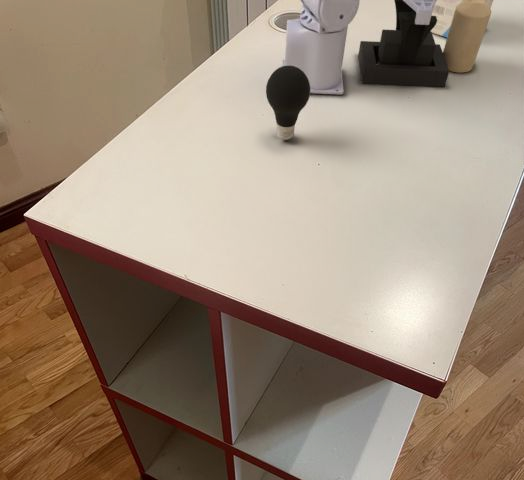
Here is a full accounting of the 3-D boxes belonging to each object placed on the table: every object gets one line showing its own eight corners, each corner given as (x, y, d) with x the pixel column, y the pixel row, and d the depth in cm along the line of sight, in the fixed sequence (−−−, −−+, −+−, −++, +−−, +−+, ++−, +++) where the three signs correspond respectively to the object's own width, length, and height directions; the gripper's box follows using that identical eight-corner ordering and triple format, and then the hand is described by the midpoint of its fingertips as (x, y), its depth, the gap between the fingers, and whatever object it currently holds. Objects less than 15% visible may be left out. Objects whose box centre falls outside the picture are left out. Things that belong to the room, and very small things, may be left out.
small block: (380, 69, 84) (385, 43, 81) (377, 54, 87) (382, 29, 84) (429, 71, 84) (436, 45, 81) (424, 57, 87) (431, 31, 84)
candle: (473, 74, 86) (496, 7, 78) (439, 71, 87) (459, 4, 79) (471, 59, 89) (494, -7, 81) (439, 56, 90) (458, -10, 82)
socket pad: (361, 83, 84) (364, 67, 82) (358, 56, 89) (360, 40, 87) (444, 87, 84) (449, 71, 82) (435, 59, 89) (440, 44, 87)
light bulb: (281, 123, 76) (285, 52, 68) (313, 138, 74) (321, 67, 66) (256, 140, 73) (257, 68, 65) (288, 156, 71) (293, 84, 63)
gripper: (464, -26, 69) (435, 77, 80) (446, -62, 78) (422, 35, 89) (412, -28, 69) (389, 75, 80) (400, -64, 78) (381, 34, 89)
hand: (403, 54), depth 84 cm, fingers closed on small block, 5 cm apart
